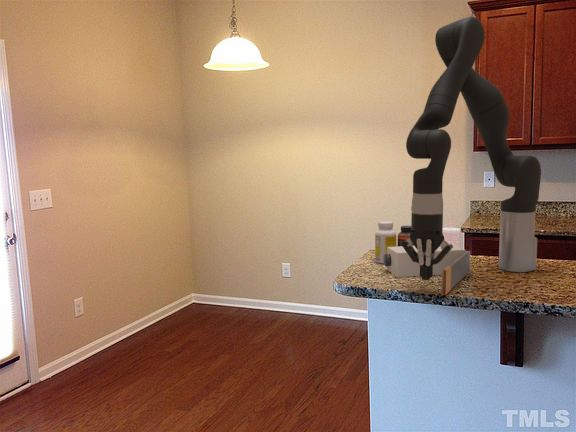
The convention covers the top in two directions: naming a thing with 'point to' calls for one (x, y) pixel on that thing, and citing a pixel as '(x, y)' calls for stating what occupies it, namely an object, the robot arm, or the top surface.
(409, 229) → the supplement bottle
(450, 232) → the beverage cup
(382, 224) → the supplement bottle
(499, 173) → the robot arm
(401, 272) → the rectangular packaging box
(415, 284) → the top surface
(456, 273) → the side door
